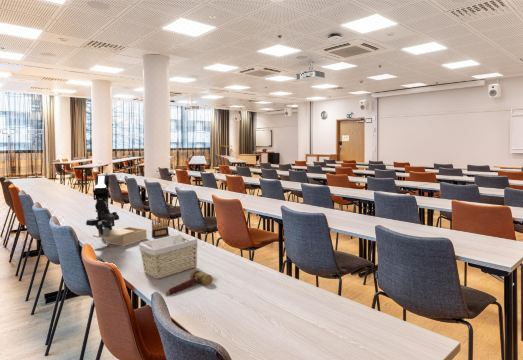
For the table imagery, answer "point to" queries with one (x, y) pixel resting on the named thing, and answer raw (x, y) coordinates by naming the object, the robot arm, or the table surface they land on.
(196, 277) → the gavel
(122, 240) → the mailer box
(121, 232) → the mailer lid
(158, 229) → the ammunition clip
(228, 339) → the table surface
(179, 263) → the storage basket
